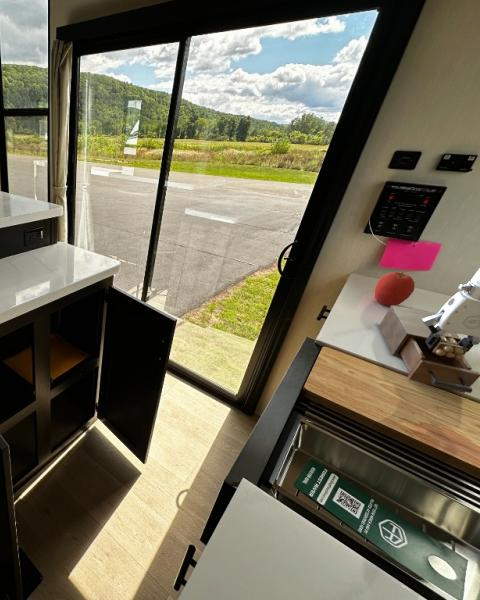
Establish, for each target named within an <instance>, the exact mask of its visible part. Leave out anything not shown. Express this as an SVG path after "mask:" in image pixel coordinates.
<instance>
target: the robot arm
mask: <svg viewBox="0 0 480 600" xmlns="http://www.w3.org/2000/svg"><path fill="white" fill-rule="evenodd" d="M457 288H458V290H459V291H457V292H456V293H455V294H453V296H451V298H449V299H448V300H447V301H446V302H445V304H444V305H443V306H442V307H441V308H440V310H439V311H437V312H436V313H437V314H435V315H432V316H429V317H427V318H424V319H422V321H423V322H424V324H425V325H426V326H427V327H428V328H429V329H430V331H431V334H430V335H429V336H428V338H427V339H426V344H427V345H428V347H429V349H434V347H436V345H437V344H438V343H439V341H440V340H441V337H440V336H441V335H443V334H444V333H446V332H447V331H448V332H453V333H456V334H457V335H458V334H459V335H463V336H464V335H465V336H464V337H463V338H461V341H460V342H459V346H462V347H467V348H468V349H469V350H468V351H467V352H466V353H468V352H470V351H471V349H472V348H473V347H474V346H477V345H479V344H480V267H479V268H478V270H477V271H476V272H475V274H474V275H473V276H472V278H471V279H470V280H469V281H468V282H467V283H463V284H462V283H461V284H459V285H458V287H457ZM433 322H439V323H438V324H437V325H436V326H434V325H433V324H432V323H433ZM466 336H467V337H466ZM466 353H465V354H464V356H465V355H466Z"/></svg>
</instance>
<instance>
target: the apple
mask: <svg viewBox="0 0 480 600" xmlns="http://www.w3.org/2000/svg"><path fill="white" fill-rule="evenodd" d="M415 284H416V283H415V281H414V279H413V277H412V276H410V275H408V274H406V273H404V271H402V272H396V271H394V272H393V271H392V272H389V273H387V274H384V275H383V276H382V277H380V278H379V279H378V281H377V283H376V285H375V288H374V299H375V300H376V301H377V303H379V304H380V305H383V306H387V307H391V305H392V306H399V305H401V304H402V303H404V302H405V301H406V300H408V299H409V298H410V296H411V295H412V294H413V293H414V292H415V286H416V285H415Z"/></svg>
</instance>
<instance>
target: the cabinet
mask: <svg viewBox="0 0 480 600" xmlns="http://www.w3.org/2000/svg"><path fill="white" fill-rule="evenodd" d="M437 313H438V312H432V311H425V310H420V309H414V308H408V307H403V306H399V305H394V306H392V305H391V306H389V308H388V310H387V311H386V313H385V315H384V316H383V318H382V319H381V321H380V323H379V325H378V327H379V329H380V331H381V333H382V335H383V338H384V340H385V342H386V344H387V347H388V349H389V351H390V353H391V355H392V356H395V357H399V358H402V357H401V355H400V353H399V350H400V349H401V347H402V346H403V344H404V343H405V341H406V340H407V338H408V337H409V336H410V337H415V338H420V339H425V340H426V339H427V338H428V336H429V335H430V334H431V331H430V329H429V328H428V327H427V326H426V325H425V324H424V322H423V321H422V319H424V318H427V317H429V316H432V315H435V314H437ZM438 323H439V322H433V323H432V324H433V325H434V326H436V325H437V324H438ZM446 334H450V335H452V336H453V337H459V338H460V336H459V335H458V333H453V332H448V331H447V332H446V333H444V335H446ZM461 340H462V339H461ZM461 340H460V341H461ZM458 344H459V343H458Z"/></svg>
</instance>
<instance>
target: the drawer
mask: <svg viewBox="0 0 480 600" xmlns="http://www.w3.org/2000/svg"><path fill="white" fill-rule="evenodd" d="M433 350H434V349H429V347H428V345H427V344H426V340H425V339H420V338H415V337H410V336H409V337H408V338H407V340H406V341H405V343H404V344H403V346H402V347H401V349H400V350H399V353H400V355H401V357H400V358H401V359H402V361H403V363H404V365H405V367H406V369H407V371H408V373H409V374H408V375H407V379H408V380H409V381H413V382H417V383H420V384H425V385H429V386H434V387H438V388H442V389H445V390H449V391H454V392H458V393H461V394H465V393H469V394H471V393H472V392H473V388H472V386H473V385H474V384H475V383H476V381H477V380H478V379H479V378H480V371H476V370H472V369H473V368H472V367H471V365H470V363H469V362H468V361H467V360H466V358H465V357H464V359H462V360H457V359H455V358H454V357H453V358H448V357H446V356H445V355H444V356H439V355H437V354H436V353H433Z"/></svg>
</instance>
